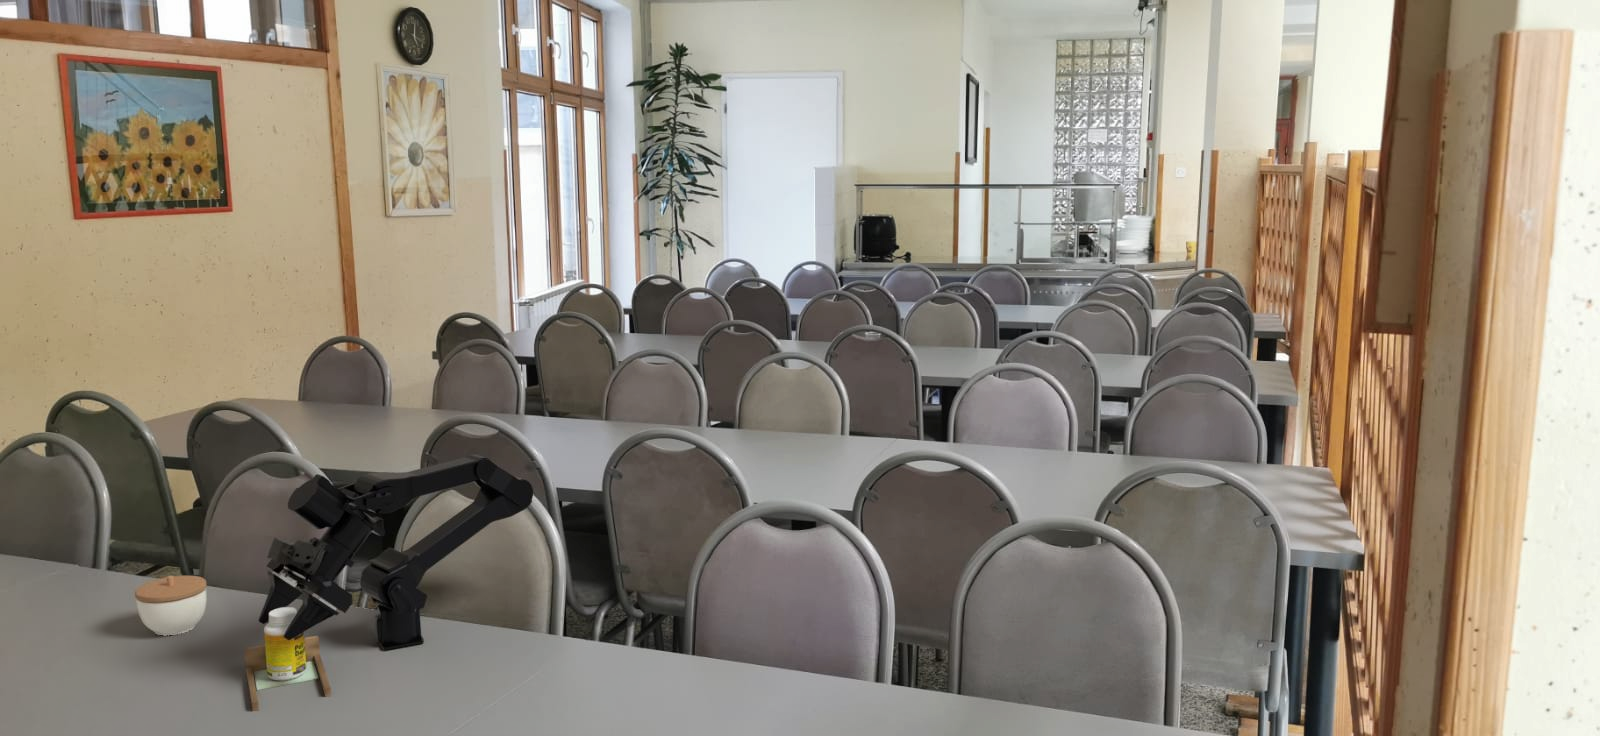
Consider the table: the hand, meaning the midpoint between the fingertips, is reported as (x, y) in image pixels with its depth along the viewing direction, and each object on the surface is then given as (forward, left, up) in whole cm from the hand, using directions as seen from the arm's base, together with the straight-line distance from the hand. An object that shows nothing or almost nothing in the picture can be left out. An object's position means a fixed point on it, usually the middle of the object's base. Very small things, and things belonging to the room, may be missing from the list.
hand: (273, 630), depth 177 cm
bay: (-1, +3, -8) cm, 8 cm away
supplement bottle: (-2, 0, -8) cm, 8 cm away
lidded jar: (+14, -30, -8) cm, 34 cm away
